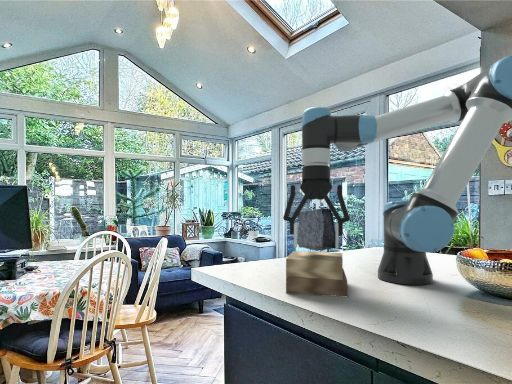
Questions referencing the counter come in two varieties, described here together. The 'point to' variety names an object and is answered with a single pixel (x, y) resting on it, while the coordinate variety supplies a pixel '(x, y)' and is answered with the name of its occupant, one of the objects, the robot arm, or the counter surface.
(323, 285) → the tower base
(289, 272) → the tower top
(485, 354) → the counter surface
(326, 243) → the stone
